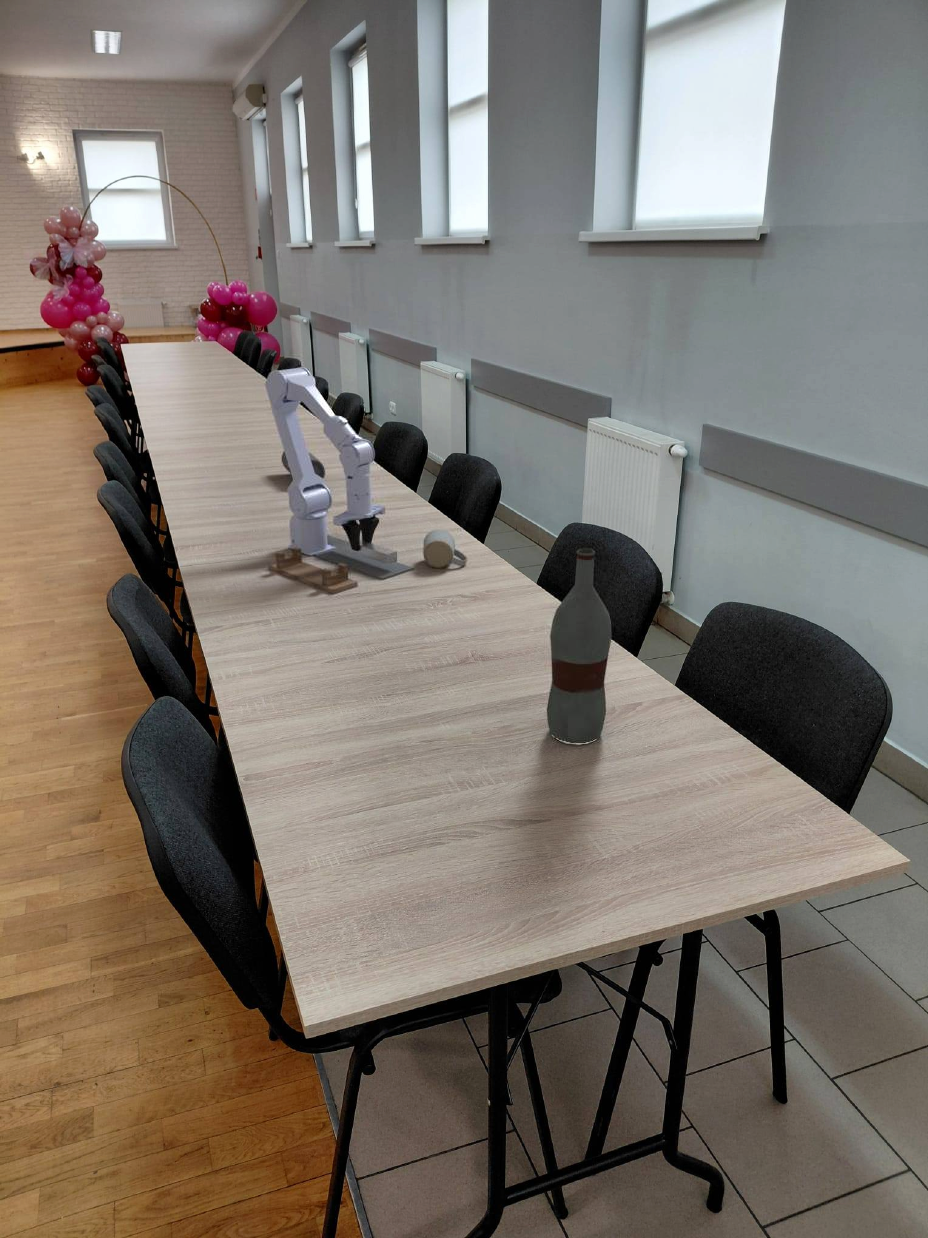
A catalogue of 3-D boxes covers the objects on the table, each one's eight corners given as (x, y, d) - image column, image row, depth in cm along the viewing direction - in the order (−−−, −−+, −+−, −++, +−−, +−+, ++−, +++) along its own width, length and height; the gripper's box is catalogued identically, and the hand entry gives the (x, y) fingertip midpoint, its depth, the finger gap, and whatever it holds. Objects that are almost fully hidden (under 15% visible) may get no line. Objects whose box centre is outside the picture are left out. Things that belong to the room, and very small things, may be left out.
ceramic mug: (422, 569, 212) (423, 538, 209) (423, 558, 220) (423, 528, 217) (467, 570, 212) (468, 539, 210) (466, 559, 220) (467, 529, 217)
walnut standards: (268, 568, 212) (267, 550, 210) (292, 561, 217) (291, 544, 215) (333, 593, 197) (332, 574, 195) (357, 585, 202) (356, 567, 200)
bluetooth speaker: (280, 475, 299) (278, 445, 295) (307, 472, 303) (306, 443, 299) (298, 491, 280) (296, 459, 276) (327, 487, 284) (326, 456, 280)
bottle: (567, 712, 147) (576, 537, 136) (615, 730, 142) (630, 549, 130) (534, 734, 141) (541, 552, 129) (583, 754, 135) (595, 565, 124)
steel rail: (327, 544, 222) (326, 534, 221) (336, 541, 224) (336, 532, 223) (387, 564, 208) (387, 554, 207) (397, 561, 210) (396, 551, 209)
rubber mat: (306, 553, 223) (306, 551, 223) (337, 544, 230) (337, 542, 230) (382, 579, 205) (382, 578, 205) (413, 569, 212) (413, 567, 212)
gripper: (345, 501, 203) (348, 559, 208) (393, 490, 213) (394, 545, 218) (326, 496, 208) (329, 552, 213) (373, 485, 217) (375, 539, 223)
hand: (361, 548), depth 216 cm, fingers closed on steel rail, 3 cm apart
